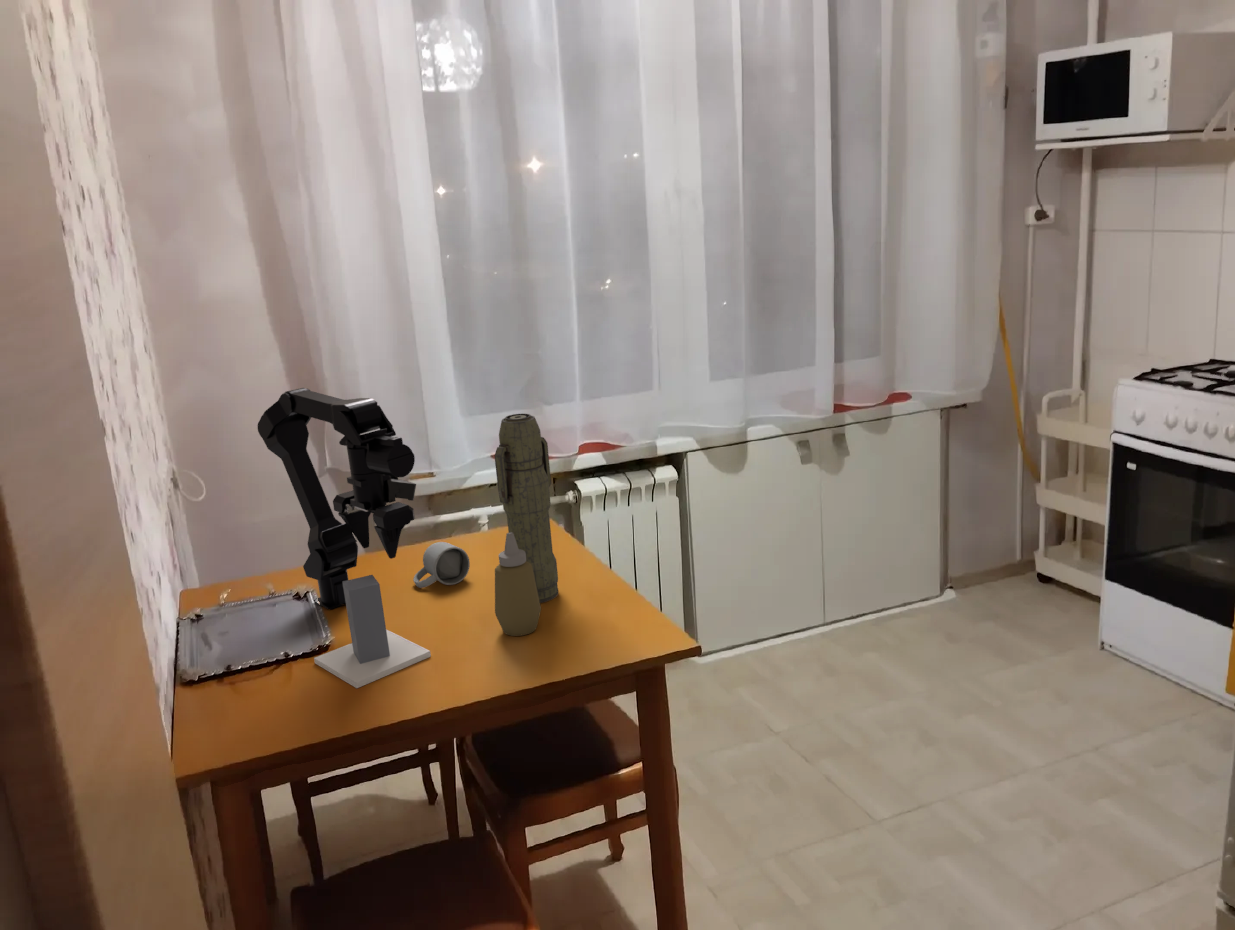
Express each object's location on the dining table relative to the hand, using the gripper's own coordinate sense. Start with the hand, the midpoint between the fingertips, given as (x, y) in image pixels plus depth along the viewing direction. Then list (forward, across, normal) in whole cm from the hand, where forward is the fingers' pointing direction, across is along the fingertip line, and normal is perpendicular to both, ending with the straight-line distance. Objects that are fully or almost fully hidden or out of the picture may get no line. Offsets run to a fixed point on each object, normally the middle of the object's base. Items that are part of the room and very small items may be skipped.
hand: (379, 552), depth 179 cm
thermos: (+13, -14, -24) cm, 31 cm away
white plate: (+13, -13, +11) cm, 21 cm away
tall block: (+12, -13, +11) cm, 21 cm away
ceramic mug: (+13, +8, -17) cm, 23 cm away
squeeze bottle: (+13, -24, -12) cm, 30 cm away
